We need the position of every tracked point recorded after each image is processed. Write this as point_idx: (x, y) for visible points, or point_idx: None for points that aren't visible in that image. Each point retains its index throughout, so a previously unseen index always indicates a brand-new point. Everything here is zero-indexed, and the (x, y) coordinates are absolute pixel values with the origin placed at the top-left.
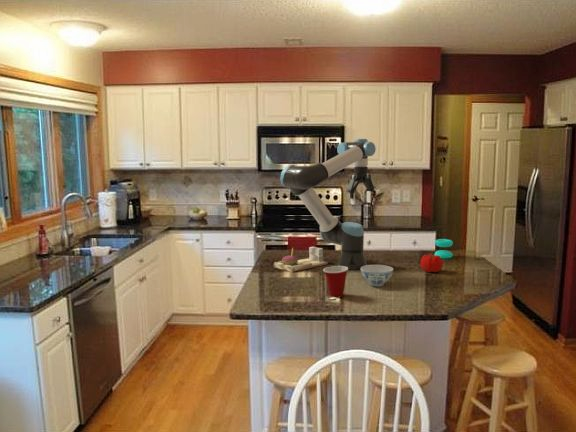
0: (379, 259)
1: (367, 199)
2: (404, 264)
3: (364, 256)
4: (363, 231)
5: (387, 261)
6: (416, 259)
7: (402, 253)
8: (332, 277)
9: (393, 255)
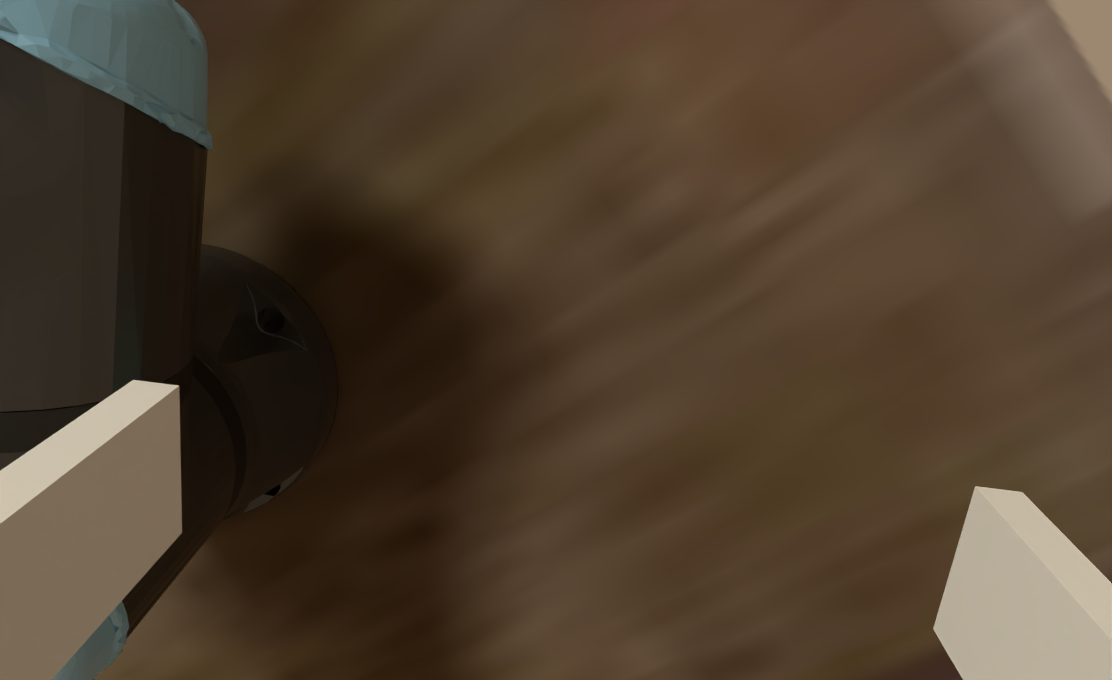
0: (638, 405)
1: (1010, 581)
2: (598, 668)
3: (227, 519)
4: (105, 666)
5: (608, 506)
6: (851, 659)
7: (1055, 438)
8: None
9: (902, 416)
